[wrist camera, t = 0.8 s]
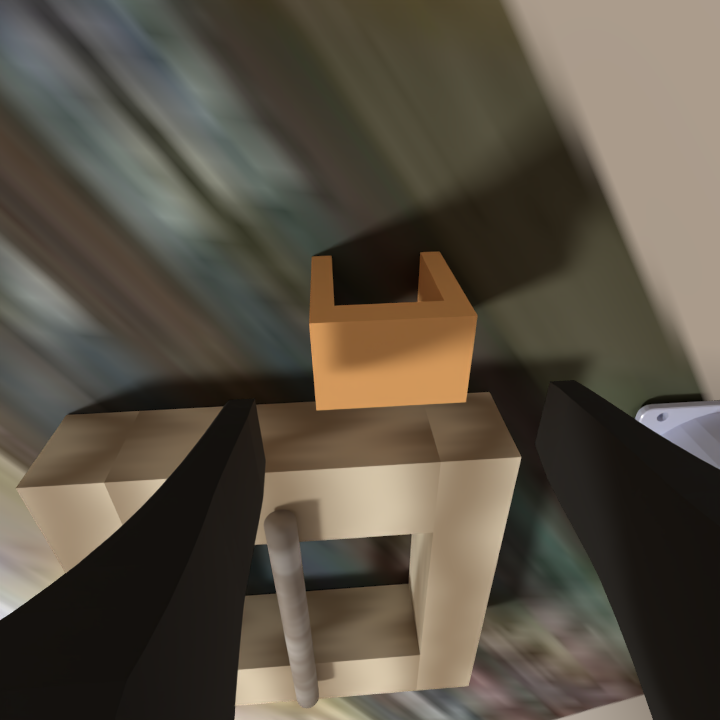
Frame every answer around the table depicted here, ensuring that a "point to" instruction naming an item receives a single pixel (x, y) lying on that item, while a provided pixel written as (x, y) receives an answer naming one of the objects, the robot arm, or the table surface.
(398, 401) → the bracket
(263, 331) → the table surface
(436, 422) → the rectangular frame
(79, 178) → the table surface
